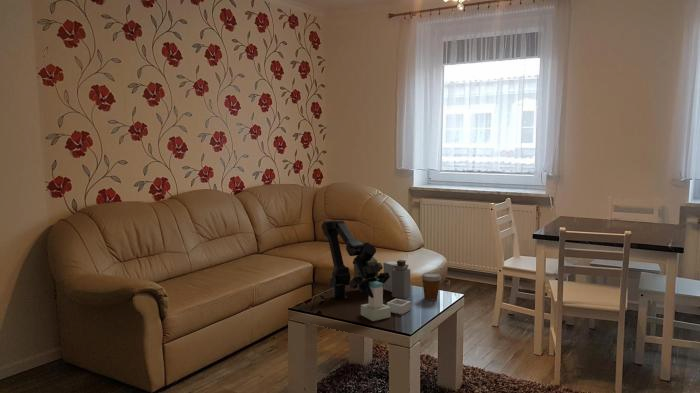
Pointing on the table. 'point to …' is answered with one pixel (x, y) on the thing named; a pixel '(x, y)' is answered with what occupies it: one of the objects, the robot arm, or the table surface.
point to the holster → (399, 306)
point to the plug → (376, 295)
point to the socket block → (375, 312)
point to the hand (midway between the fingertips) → (377, 296)
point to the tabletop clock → (371, 262)
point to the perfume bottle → (401, 280)
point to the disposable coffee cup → (431, 285)
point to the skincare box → (388, 268)
